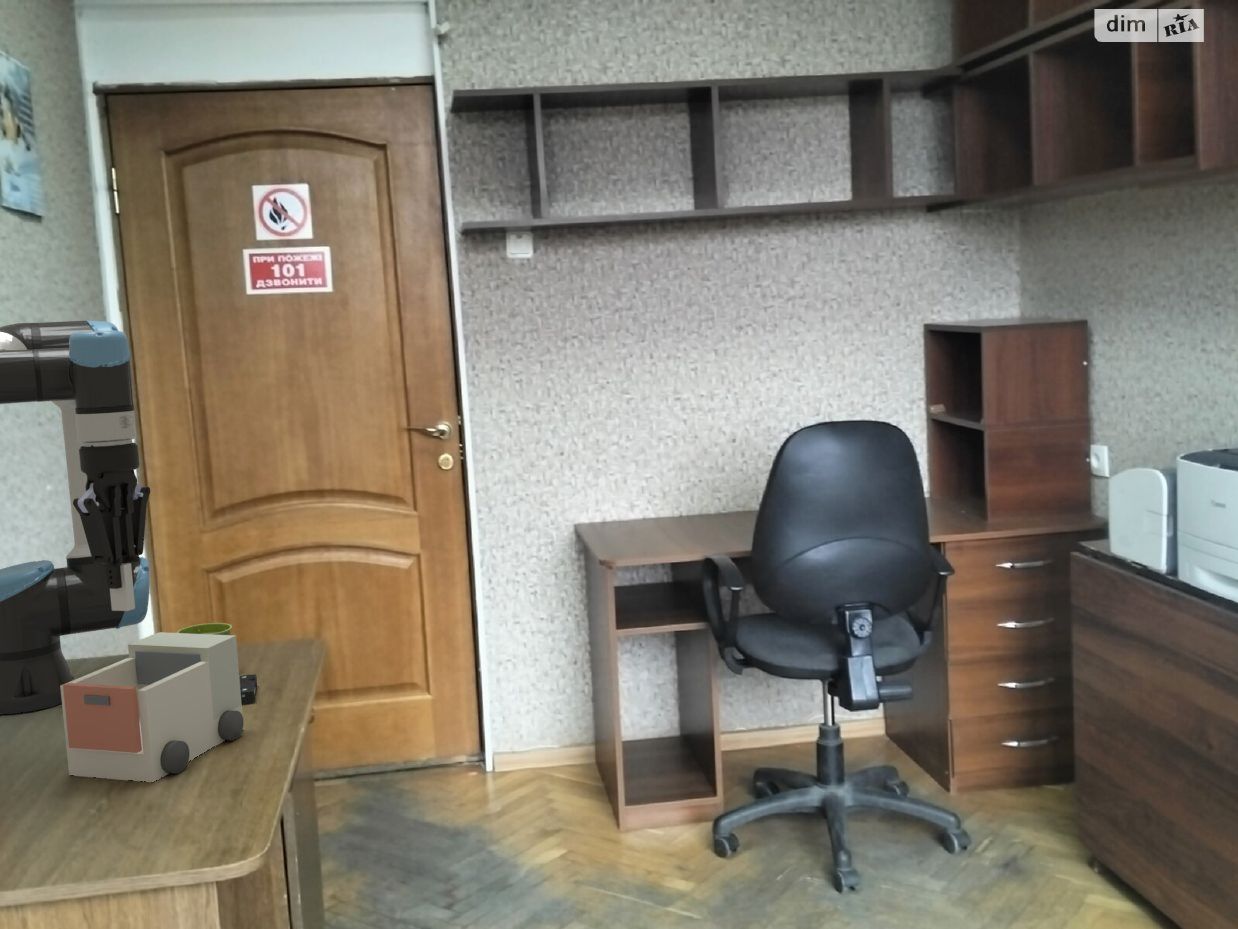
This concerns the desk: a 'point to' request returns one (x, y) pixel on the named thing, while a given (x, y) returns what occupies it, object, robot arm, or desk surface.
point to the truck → (169, 705)
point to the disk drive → (248, 688)
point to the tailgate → (102, 717)
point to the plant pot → (208, 629)
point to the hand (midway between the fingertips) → (123, 609)
